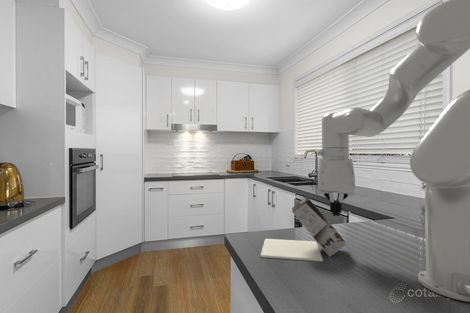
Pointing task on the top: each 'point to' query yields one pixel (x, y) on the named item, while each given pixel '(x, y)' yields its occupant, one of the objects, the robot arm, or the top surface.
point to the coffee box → (318, 226)
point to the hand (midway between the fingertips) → (335, 214)
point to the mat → (291, 250)
